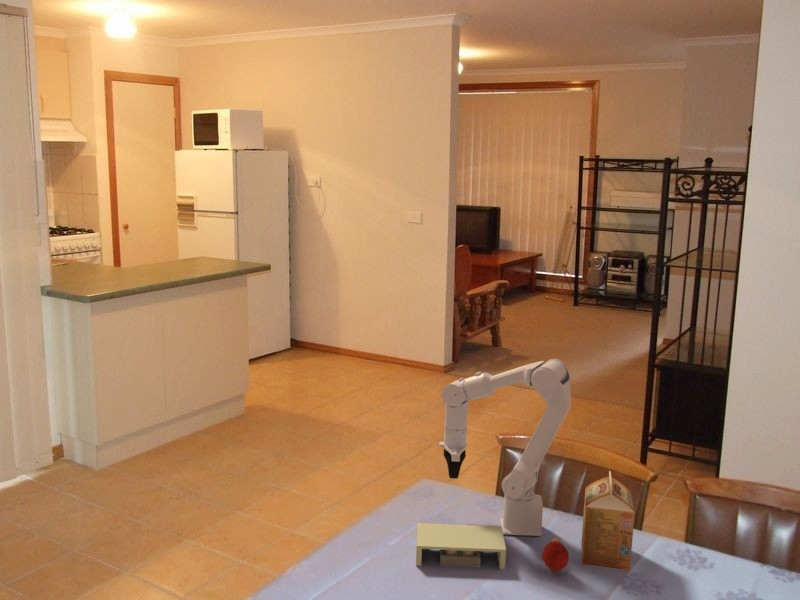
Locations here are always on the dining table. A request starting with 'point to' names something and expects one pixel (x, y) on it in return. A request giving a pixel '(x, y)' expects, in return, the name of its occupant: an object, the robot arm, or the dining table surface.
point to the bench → (461, 539)
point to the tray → (460, 558)
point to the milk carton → (607, 525)
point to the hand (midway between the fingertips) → (453, 477)
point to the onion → (555, 556)
